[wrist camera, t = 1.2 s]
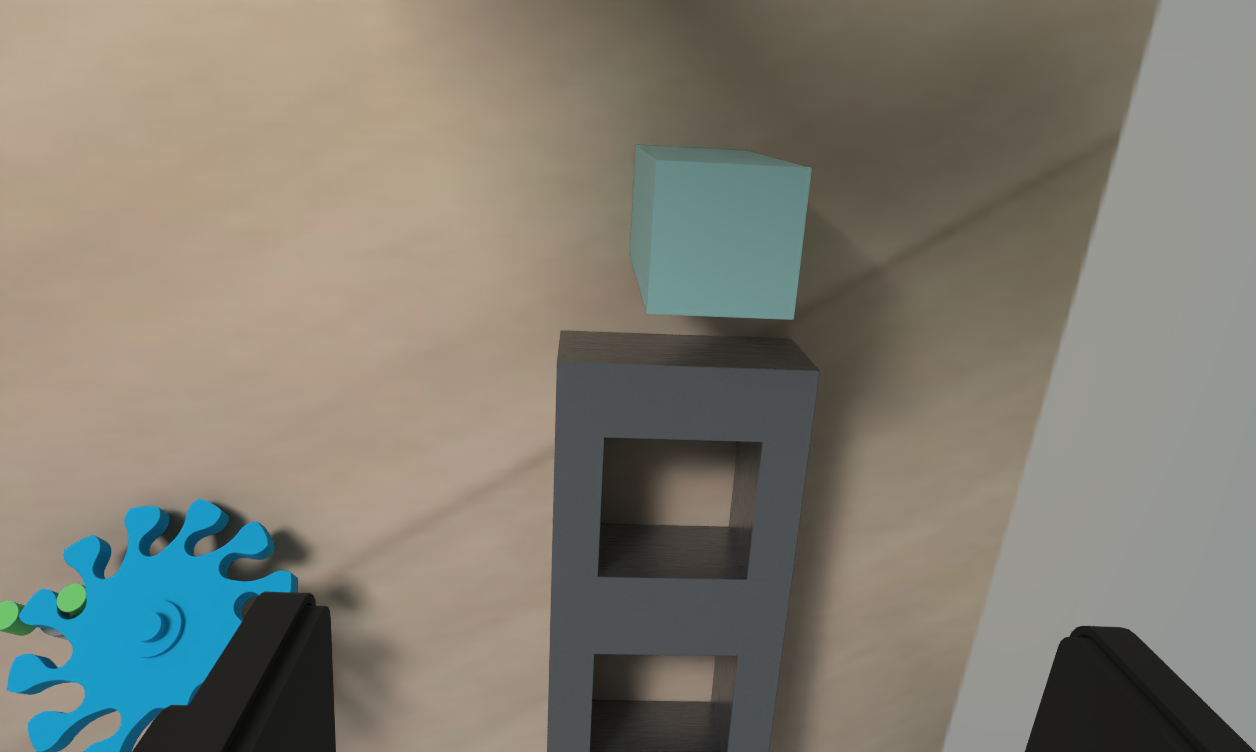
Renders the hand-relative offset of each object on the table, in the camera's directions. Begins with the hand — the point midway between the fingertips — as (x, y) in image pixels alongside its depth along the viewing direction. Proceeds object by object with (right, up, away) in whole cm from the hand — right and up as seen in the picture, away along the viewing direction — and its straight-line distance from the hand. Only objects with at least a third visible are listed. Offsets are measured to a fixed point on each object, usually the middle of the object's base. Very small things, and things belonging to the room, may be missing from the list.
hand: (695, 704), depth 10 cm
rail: (0, -4, +24) cm, 24 cm away
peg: (+1, +11, +19) cm, 22 cm away
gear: (-19, -4, +23) cm, 31 cm away
